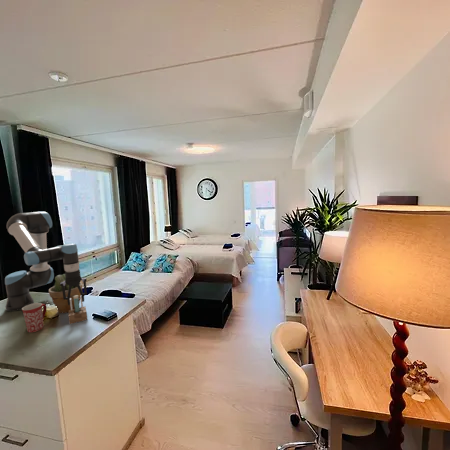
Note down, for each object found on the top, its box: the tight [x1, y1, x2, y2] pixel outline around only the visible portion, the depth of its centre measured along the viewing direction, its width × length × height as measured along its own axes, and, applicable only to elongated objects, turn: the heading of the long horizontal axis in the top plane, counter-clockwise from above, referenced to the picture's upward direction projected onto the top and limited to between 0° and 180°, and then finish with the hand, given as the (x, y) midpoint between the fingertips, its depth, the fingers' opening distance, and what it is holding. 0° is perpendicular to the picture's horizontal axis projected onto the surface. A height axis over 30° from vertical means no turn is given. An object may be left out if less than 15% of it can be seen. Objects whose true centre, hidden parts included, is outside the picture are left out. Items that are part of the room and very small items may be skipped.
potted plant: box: [48, 273, 83, 314], centre depth 165 cm, size 18×19×25 cm
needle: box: [73, 295, 80, 313], centre depth 152 cm, size 2×2×14 cm
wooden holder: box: [68, 305, 88, 325], centre depth 153 cm, size 9×9×5 cm
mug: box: [21, 302, 47, 333], centre depth 144 cm, size 13×9×14 cm
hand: (77, 308), depth 152 cm, fingers open, 5 cm apart
